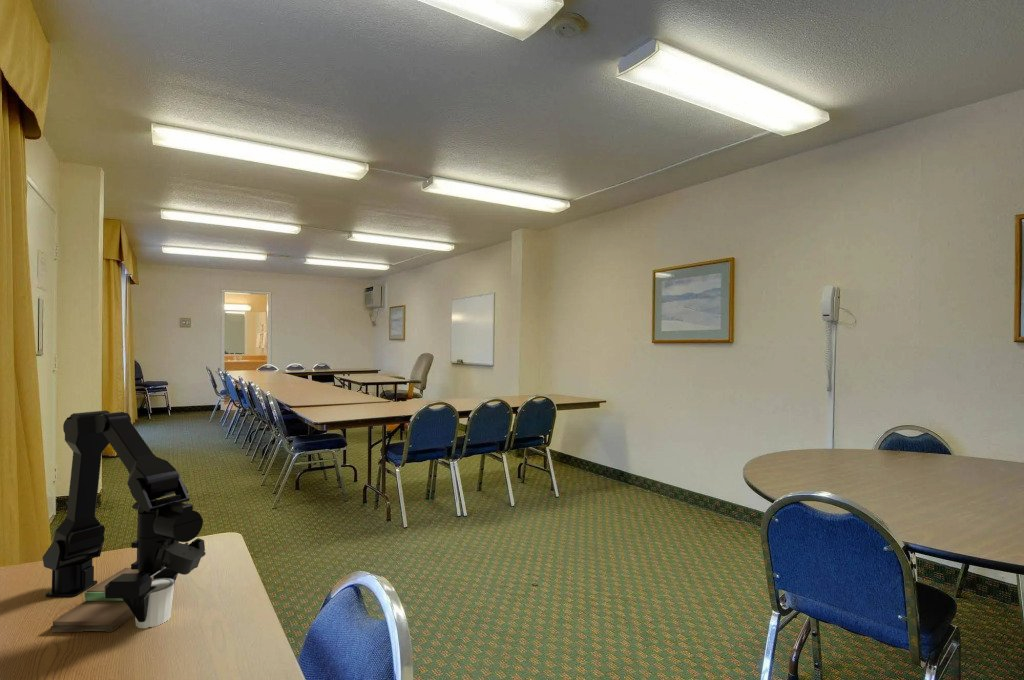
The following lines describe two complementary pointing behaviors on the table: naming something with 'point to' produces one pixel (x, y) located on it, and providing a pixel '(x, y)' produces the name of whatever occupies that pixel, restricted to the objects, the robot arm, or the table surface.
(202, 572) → the table surface
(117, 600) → the stepped riser
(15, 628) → the table surface
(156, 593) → the white tapered cup
